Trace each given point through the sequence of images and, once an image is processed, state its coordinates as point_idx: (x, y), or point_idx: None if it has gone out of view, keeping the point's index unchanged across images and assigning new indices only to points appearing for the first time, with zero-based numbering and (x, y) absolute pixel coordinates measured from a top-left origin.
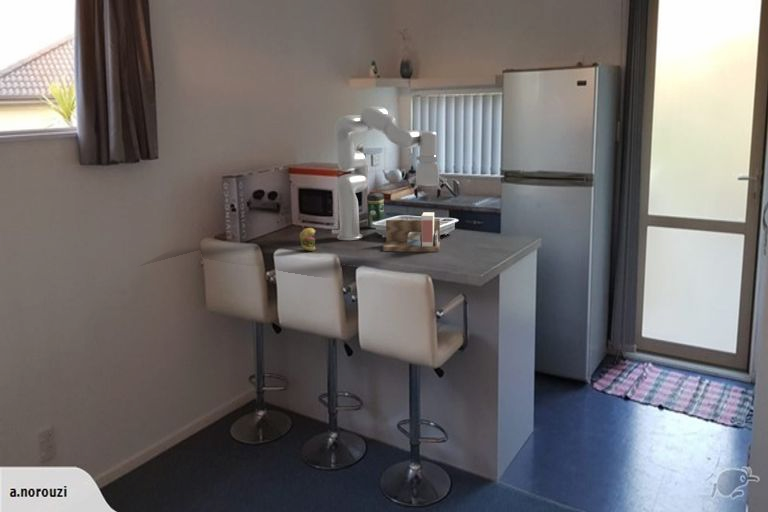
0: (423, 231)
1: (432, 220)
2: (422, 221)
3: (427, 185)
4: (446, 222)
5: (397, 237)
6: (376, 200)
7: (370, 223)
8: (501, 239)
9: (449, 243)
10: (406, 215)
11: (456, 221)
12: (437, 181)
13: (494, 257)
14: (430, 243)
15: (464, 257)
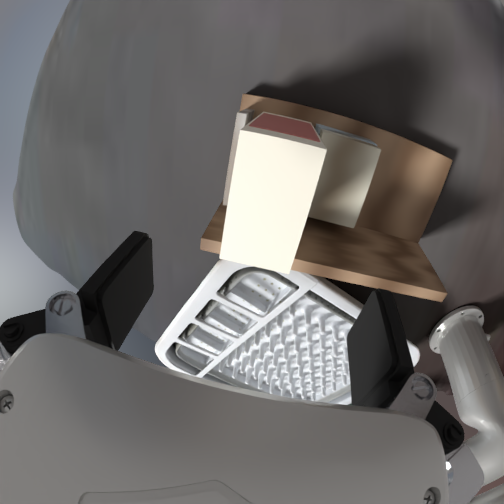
0: (307, 128)
1: (248, 125)
2: (317, 139)
3: (231, 386)
4: (188, 343)
5: (388, 241)
6: None
7: None
8: (66, 243)
9: (192, 220)
10: None
11: (158, 340)
12: (3, 373)
13: (80, 27)
14: (273, 114)
15: (161, 10)
